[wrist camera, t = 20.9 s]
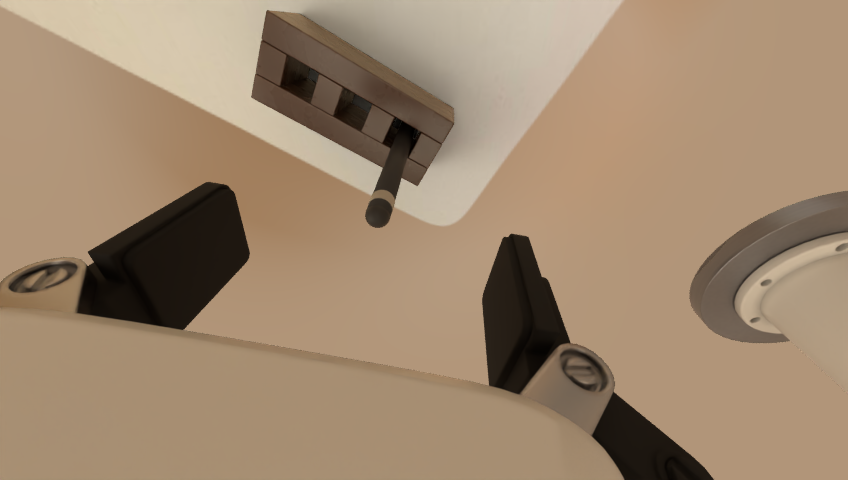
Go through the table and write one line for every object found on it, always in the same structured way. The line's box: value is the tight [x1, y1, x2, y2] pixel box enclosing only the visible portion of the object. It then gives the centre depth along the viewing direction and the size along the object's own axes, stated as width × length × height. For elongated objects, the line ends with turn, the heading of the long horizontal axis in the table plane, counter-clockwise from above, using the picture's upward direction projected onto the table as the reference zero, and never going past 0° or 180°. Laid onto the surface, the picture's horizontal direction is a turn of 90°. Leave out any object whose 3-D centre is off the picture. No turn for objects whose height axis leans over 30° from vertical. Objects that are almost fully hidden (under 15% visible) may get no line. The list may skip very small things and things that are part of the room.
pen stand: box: [251, 10, 454, 186], centre depth 21 cm, size 5×12×4 cm, turn 61°
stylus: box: [365, 121, 415, 228], centre depth 19 cm, size 1×1×13 cm
